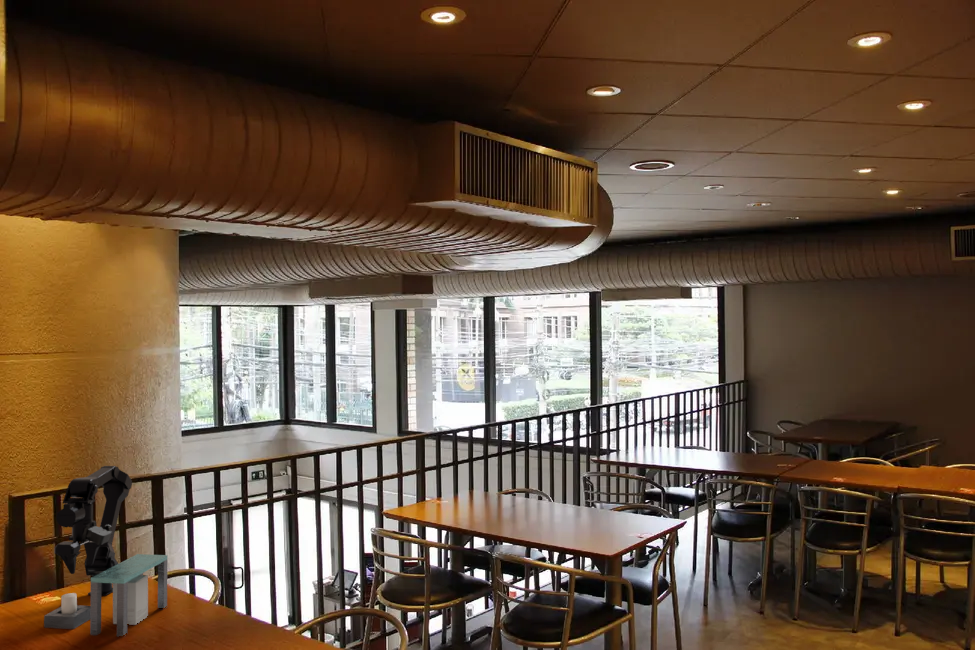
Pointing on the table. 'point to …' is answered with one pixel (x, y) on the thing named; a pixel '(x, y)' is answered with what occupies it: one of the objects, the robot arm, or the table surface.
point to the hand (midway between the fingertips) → (81, 569)
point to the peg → (69, 603)
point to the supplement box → (134, 600)
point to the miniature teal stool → (126, 588)
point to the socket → (67, 618)
